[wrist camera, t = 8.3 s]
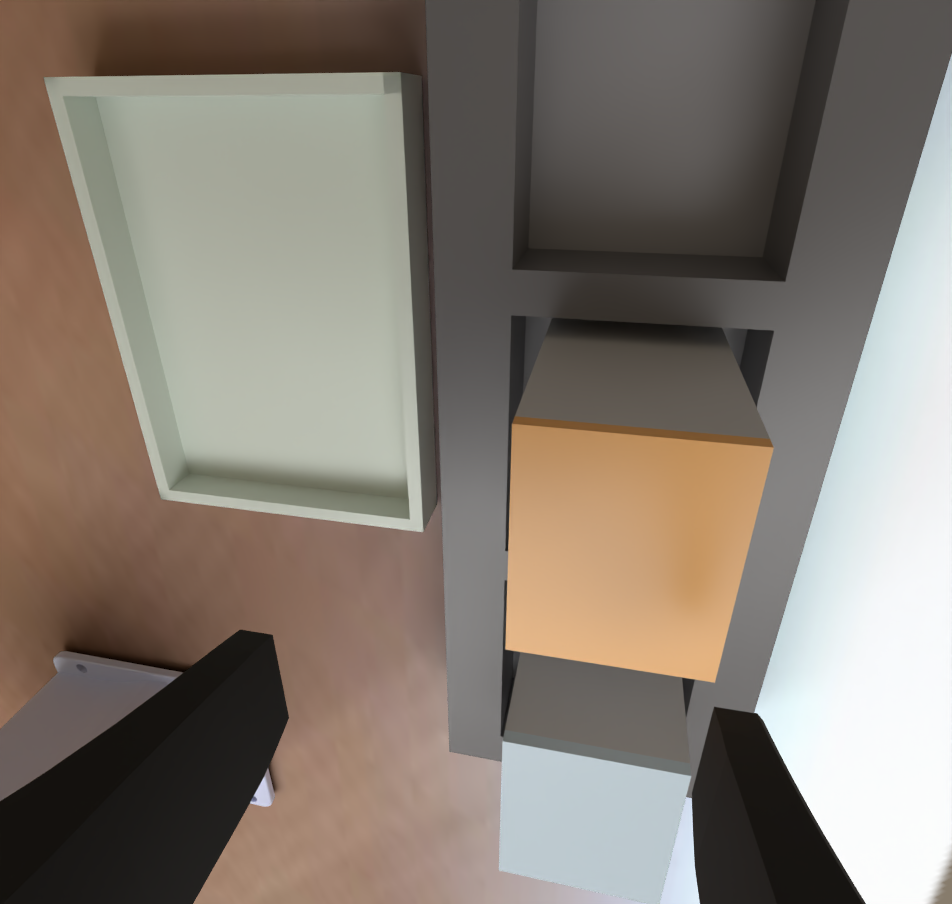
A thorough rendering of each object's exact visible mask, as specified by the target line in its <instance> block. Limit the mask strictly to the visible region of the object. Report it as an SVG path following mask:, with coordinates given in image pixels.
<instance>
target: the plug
mask: <svg viewBox="0 0 952 904" xmlns="http://www.w3.org/2000/svg"><path fill="white" fill-rule="evenodd" d="M773 449H774V447H773V445H772V442H771V440H770V438H769V435H768V433H767V431H766V428H765V426H764V424H763V421H762V419H761V417H760V415H759V412H758V410H757V408H756V405H755V403H754V401H753V398H752V396H751V394H750V391H749V389H748V387H747V385H746V382H745V380H744V378H743V375H742V373H741V371H740V368H739V366H738V364H737V361H736V359H735V357H734V355H733V352H732V350H731V348H730V345H729V343H728V341H727V338H726V336H725V334H724V331H723V329H722V328H720V327H703V326H686V325H668V324H651V323H634V322H617V321H600V320H583V319H565V318H552V320H551V322H550V325H549V328H548V330H547V333H546V336H545V338H544V341H543V343H542V346H541V349H540V351H539V354H538V357H537V359H536V362H535V365H534V367H533V370H532V372H531V375H530V378H529V380H528V383H527V386H526V388H525V391H524V394H523V396H522V399H521V402H520V404H519V407H518V409H517V412H516V415H515V417H514V420H513V423H512V443H511V477H510V510H509V544H508V578H507V612H506V646H505V649H506V650H512V651H518V652H524V653H531V654H537V655H543V656H550V657H556V658H562V659H569V660H575V661H581V662H588V663H594V664H600V665H607V666H613V667H619V668H625V669H632V670H638V671H644V672H651V673H657V674H663V675H670V676H676V677H682V678H689V679H695V680H701V681H708V682H714V683H715V680H716V676H717V672H718V668H719V664H720V660H721V656H722V652H723V648H724V644H725V640H726V636H727V632H728V628H729V624H730V620H731V616H732V613H733V609H734V605H735V601H736V597H737V593H738V589H739V585H740V581H741V577H742V573H743V569H744V565H745V561H746V557H747V553H748V549H749V545H750V541H751V537H752V533H753V529H754V525H755V521H756V517H757V513H758V509H759V505H760V501H761V497H762V493H763V489H764V485H765V481H766V477H767V473H768V469H769V465H770V461H771V457H772V453H773Z"/></svg>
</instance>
